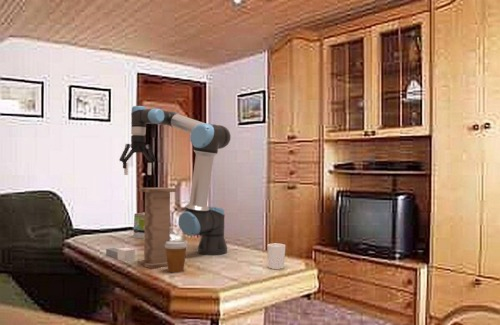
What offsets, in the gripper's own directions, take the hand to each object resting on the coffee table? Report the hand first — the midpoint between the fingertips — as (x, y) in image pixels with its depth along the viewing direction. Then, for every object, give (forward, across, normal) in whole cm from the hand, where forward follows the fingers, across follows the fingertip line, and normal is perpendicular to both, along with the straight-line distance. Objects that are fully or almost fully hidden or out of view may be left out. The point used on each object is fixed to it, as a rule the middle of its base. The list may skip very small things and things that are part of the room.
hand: (137, 174), depth 244 cm
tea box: (+39, -21, -28) cm, 53 cm away
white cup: (+39, -25, +81) cm, 93 cm away
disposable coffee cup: (+39, +12, +59) cm, 71 cm away
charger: (+39, +19, +19) cm, 47 cm away
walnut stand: (+39, +13, +44) cm, 60 cm away
